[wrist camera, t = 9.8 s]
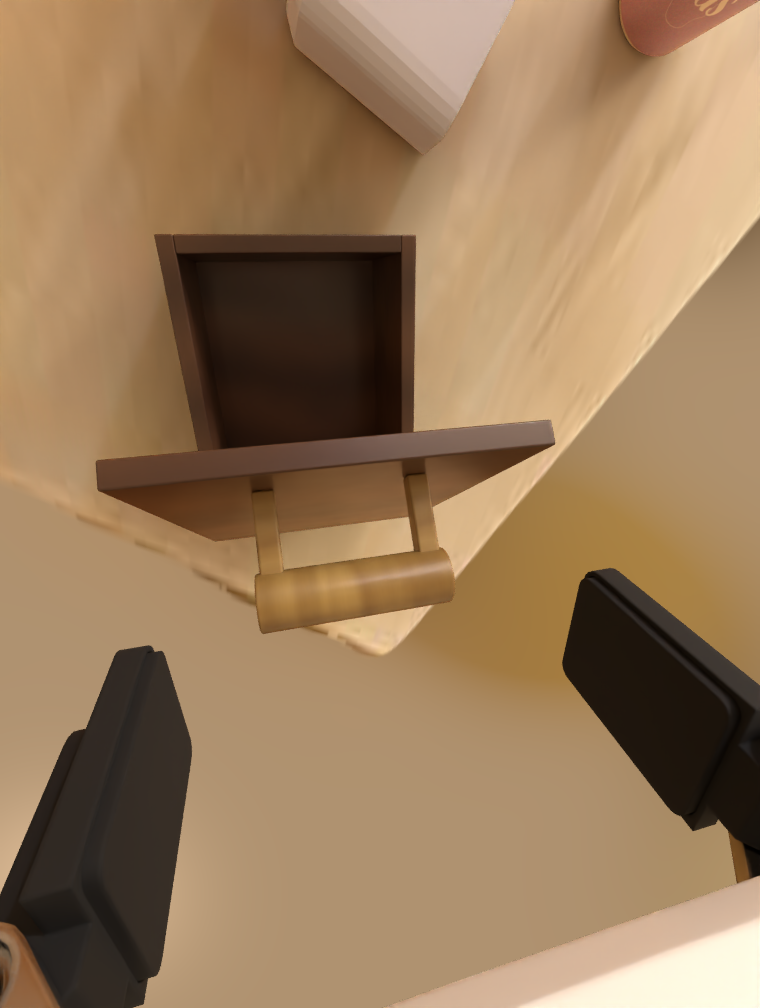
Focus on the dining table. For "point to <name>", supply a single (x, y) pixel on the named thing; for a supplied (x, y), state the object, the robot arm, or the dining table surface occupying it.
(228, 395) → the box
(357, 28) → the charger
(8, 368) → the dining table surface
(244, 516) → the lid
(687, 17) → the beverage can
